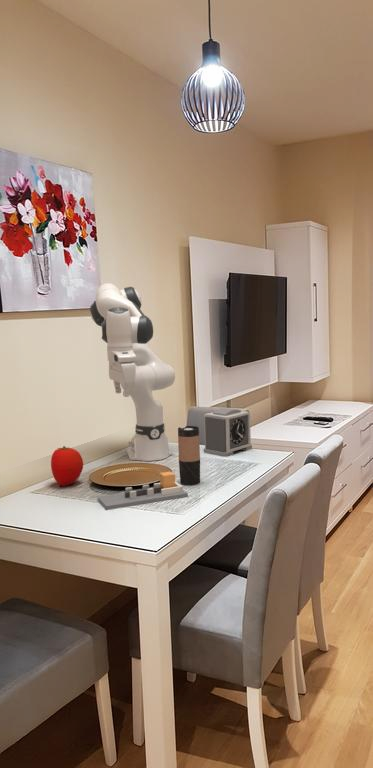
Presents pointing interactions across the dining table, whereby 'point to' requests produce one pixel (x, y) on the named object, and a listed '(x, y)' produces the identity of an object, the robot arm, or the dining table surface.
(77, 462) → the red apple
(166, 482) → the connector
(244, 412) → the alarm clock
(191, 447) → the travel mug
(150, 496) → the clip board
